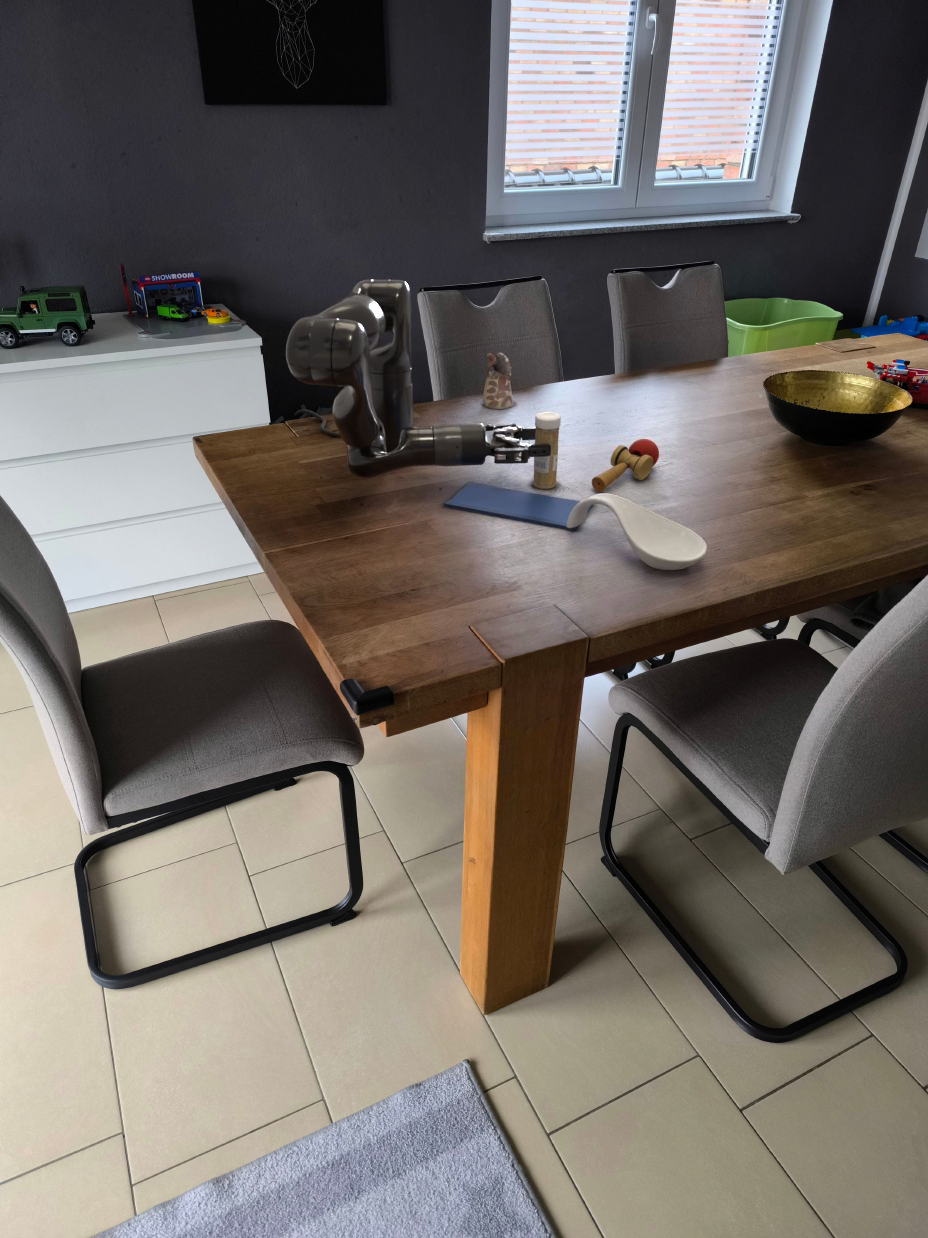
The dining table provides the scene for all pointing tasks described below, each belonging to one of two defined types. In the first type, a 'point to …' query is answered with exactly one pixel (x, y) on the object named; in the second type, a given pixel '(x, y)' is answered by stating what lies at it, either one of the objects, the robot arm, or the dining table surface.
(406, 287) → the robot arm
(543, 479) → the spice jar
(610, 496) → the spoon rest
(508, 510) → the blue flat rectangular slab
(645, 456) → the kendama
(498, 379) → the figurine
